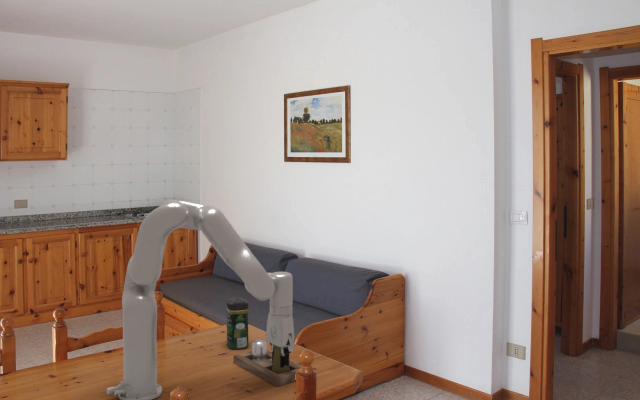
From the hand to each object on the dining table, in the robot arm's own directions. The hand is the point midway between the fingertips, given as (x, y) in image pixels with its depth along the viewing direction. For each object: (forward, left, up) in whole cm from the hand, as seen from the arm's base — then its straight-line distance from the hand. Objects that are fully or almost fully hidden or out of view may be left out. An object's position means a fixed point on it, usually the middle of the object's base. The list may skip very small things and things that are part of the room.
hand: (280, 364), depth 180 cm
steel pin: (0, +13, -4) cm, 14 cm away
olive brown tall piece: (0, 0, -2) cm, 2 cm away
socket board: (0, +6, -4) cm, 8 cm away
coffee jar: (+4, +34, -4) cm, 35 cm away
